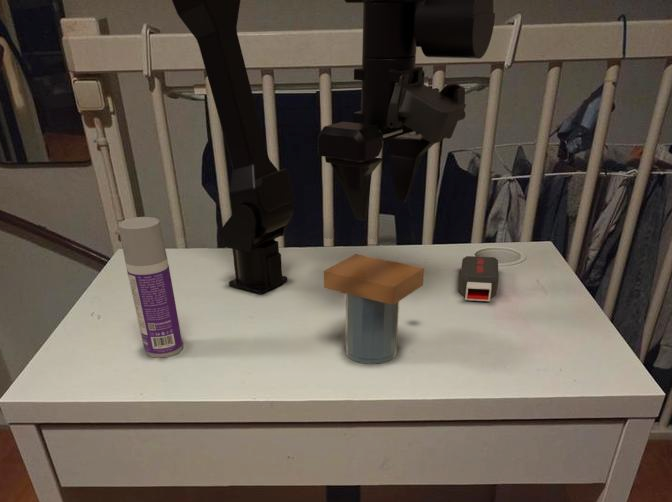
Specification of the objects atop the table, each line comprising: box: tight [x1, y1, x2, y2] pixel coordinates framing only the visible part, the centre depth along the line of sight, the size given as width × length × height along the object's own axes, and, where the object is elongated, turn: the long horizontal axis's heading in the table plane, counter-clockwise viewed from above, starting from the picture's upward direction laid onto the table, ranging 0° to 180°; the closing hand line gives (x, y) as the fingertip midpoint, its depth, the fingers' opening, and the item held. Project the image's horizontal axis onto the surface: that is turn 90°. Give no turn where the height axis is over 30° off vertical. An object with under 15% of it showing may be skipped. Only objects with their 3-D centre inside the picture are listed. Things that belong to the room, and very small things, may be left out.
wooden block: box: [323, 253, 425, 305], centre depth 69 cm, size 9×6×2 cm
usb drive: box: [458, 255, 500, 302], centre depth 89 cm, size 5×12×3 cm, turn 168°
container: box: [117, 216, 184, 359], centre depth 72 cm, size 5×5×15 cm
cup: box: [345, 293, 400, 365], centre depth 72 cm, size 6×6×8 cm
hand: (382, 210), depth 76 cm, fingers open, 9 cm apart
